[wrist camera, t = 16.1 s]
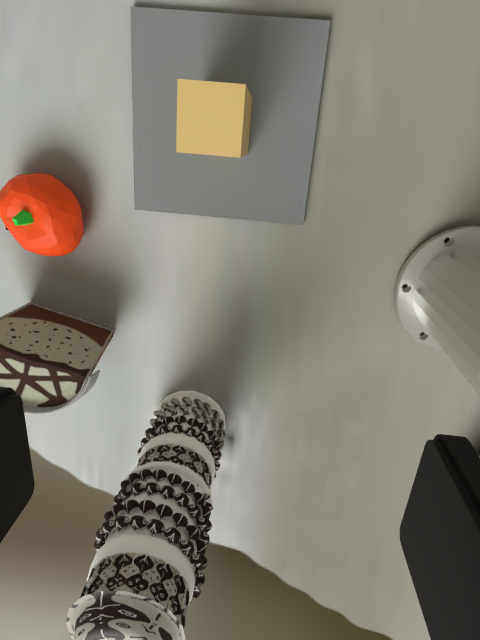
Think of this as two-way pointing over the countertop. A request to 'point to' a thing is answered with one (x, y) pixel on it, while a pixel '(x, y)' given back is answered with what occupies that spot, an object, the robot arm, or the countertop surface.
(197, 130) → the ochre block
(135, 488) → the decorative candle
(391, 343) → the countertop surface
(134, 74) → the grey mat
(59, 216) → the pumpkin
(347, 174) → the countertop surface
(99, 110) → the countertop surface
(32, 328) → the food container
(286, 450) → the countertop surface
